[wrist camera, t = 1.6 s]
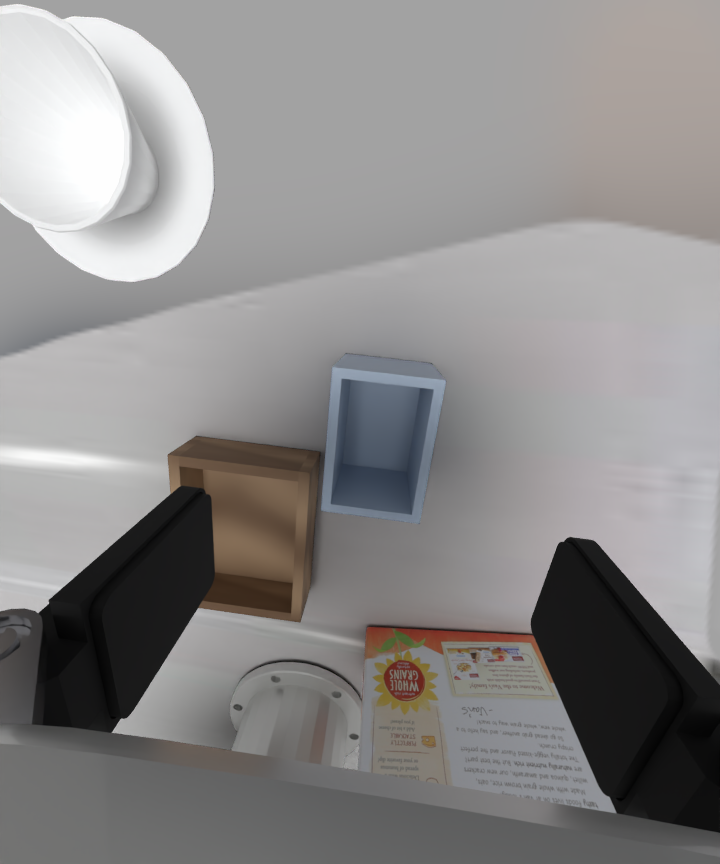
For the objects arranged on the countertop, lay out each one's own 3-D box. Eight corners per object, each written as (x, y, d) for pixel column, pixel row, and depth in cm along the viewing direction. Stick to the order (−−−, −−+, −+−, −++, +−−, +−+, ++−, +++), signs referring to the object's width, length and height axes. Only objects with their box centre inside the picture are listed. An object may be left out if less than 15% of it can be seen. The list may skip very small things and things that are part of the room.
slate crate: (412, 476, 25) (419, 523, 20) (335, 466, 25) (320, 510, 20) (431, 363, 23) (446, 380, 17) (346, 353, 23) (332, 366, 17)
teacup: (18, 4, 18) (-119, -111, 13) (241, 76, 19) (188, -10, 14) (25, 251, 22) (-80, 234, 17) (209, 308, 23) (159, 307, 18)
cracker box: (365, 674, 32) (328, 1270, 12) (365, 621, 30) (323, 1231, 10) (526, 685, 31) (776, 1357, 11) (538, 632, 29) (865, 1329, 9)
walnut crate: (310, 586, 29) (300, 622, 26) (202, 571, 29) (179, 605, 26) (320, 451, 25) (310, 473, 22) (196, 436, 25) (167, 454, 22)
